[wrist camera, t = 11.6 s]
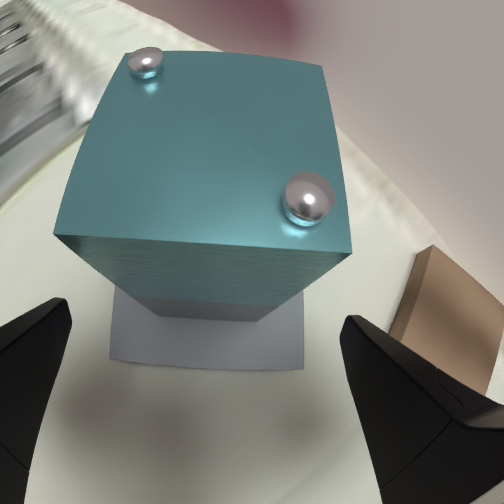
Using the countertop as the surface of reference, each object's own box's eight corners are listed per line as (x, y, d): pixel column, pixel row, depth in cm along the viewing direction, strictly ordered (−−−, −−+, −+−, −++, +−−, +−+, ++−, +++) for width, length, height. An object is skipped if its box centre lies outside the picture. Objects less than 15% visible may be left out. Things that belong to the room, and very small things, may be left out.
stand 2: (455, 424, 16) (472, 426, 14) (366, 380, 17) (383, 382, 15) (491, 313, 19) (507, 309, 18) (417, 253, 20) (432, 244, 18)
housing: (256, 321, 15) (363, 244, 4) (158, 315, 15) (42, 224, 4) (258, 230, 17) (325, 54, 6) (167, 224, 16) (123, 40, 5)
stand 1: (293, 367, 16) (303, 369, 15) (120, 358, 15) (109, 359, 13) (291, 209, 20) (299, 194, 18) (139, 200, 19) (132, 184, 17)
